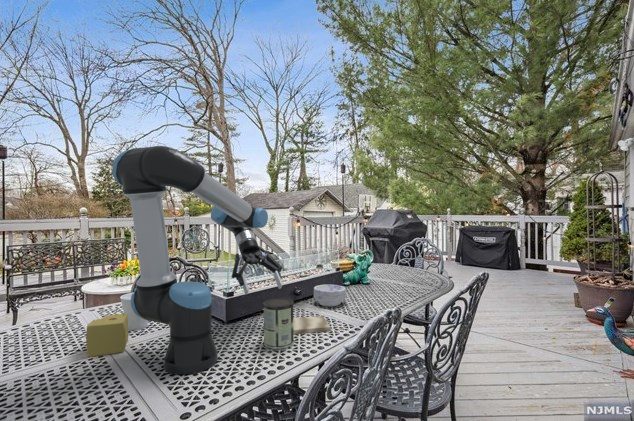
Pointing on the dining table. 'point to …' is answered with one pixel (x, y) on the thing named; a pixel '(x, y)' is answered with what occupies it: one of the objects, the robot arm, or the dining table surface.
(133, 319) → the cup
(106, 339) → the cheese
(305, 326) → the plain beige board
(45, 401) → the dining table surface
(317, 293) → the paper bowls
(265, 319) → the coffee can
